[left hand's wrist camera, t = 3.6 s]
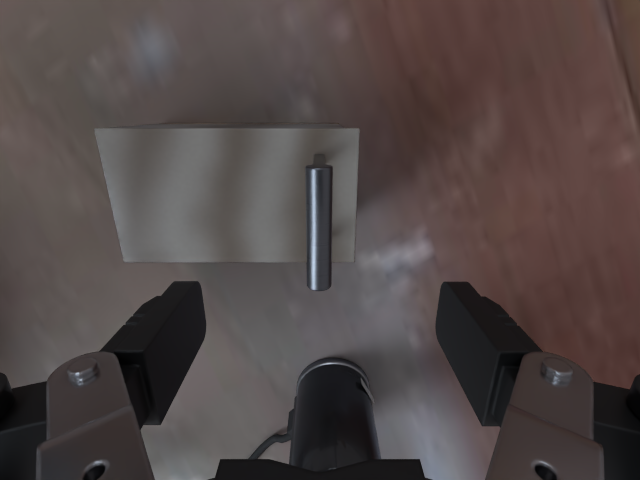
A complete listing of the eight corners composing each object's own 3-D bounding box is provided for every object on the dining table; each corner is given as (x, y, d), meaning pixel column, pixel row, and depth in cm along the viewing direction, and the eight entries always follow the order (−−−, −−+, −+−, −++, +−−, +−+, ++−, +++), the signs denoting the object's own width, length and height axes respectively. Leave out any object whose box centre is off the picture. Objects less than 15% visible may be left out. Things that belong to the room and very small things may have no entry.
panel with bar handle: (358, 127, 24) (376, 135, 16) (353, 258, 27) (366, 315, 20) (100, 127, 24) (-3, 135, 16) (128, 258, 27) (55, 315, 20)
